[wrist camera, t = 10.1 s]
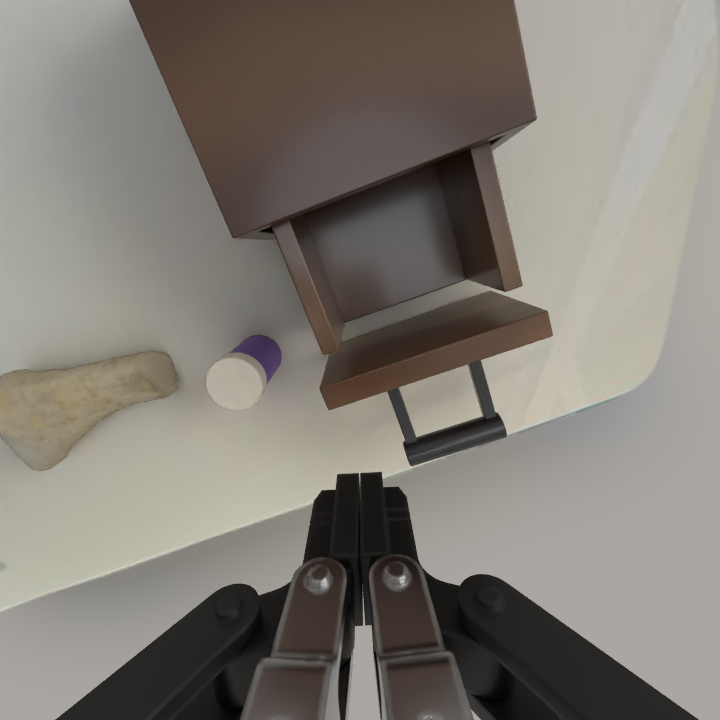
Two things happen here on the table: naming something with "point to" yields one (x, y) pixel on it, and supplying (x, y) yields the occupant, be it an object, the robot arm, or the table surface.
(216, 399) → the glue stick
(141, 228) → the table surface
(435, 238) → the drawer
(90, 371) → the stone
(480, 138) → the cabinet
